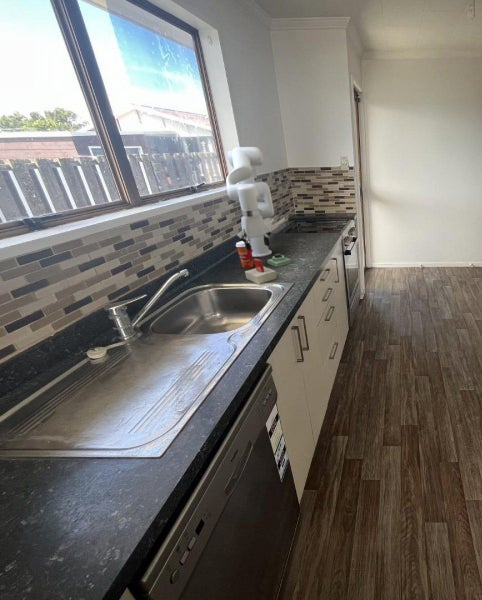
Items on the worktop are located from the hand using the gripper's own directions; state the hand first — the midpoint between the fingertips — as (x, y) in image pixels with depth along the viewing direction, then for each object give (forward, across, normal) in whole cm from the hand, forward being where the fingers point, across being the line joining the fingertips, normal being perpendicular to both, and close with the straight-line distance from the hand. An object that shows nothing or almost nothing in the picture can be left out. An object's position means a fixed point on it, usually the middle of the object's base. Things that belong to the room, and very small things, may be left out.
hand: (258, 247), depth 164 cm
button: (+12, -16, -12) cm, 24 cm away
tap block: (+15, +2, +2) cm, 16 cm away
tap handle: (+11, +2, +2) cm, 12 cm away
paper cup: (+16, -2, -21) cm, 26 cm away
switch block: (+16, -16, -12) cm, 26 cm away
